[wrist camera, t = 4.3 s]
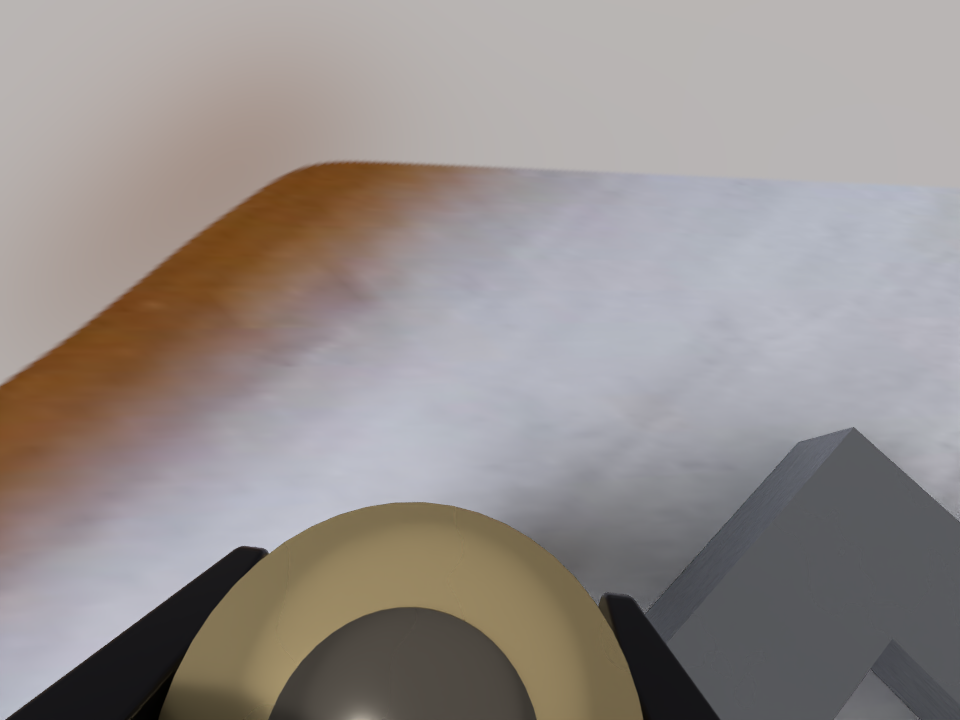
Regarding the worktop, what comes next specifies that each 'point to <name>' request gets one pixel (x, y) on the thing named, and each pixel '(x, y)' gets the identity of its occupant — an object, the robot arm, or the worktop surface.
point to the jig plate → (823, 592)
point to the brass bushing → (405, 629)
